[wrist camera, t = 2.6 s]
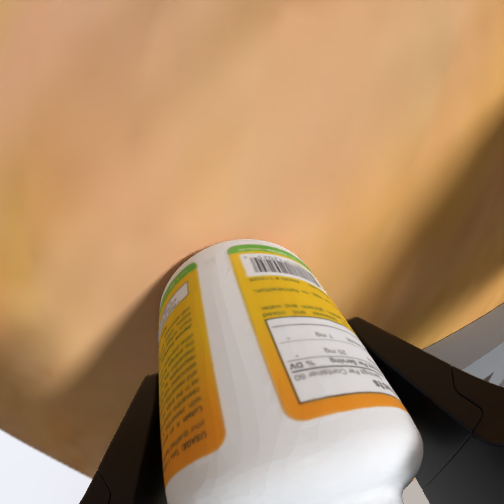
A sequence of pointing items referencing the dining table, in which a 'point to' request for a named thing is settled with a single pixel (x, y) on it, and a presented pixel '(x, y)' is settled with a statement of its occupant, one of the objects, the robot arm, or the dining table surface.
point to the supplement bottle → (272, 389)
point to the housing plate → (476, 347)
